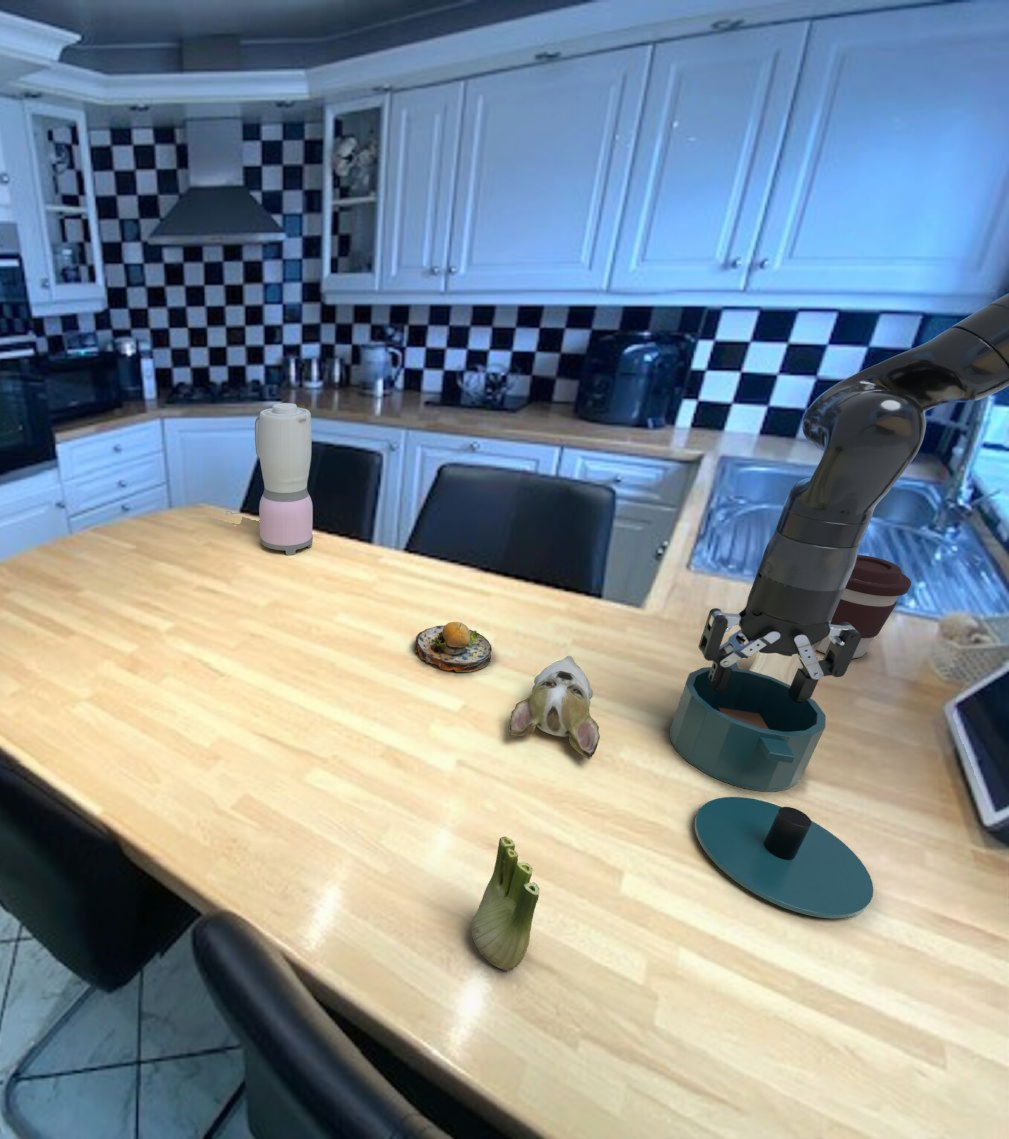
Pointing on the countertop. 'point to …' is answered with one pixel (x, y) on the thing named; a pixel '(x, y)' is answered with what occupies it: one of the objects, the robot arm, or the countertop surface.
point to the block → (745, 717)
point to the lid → (784, 857)
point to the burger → (453, 647)
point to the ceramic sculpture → (559, 707)
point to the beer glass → (779, 665)
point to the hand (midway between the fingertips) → (755, 693)
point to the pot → (746, 730)
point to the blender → (285, 477)
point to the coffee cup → (869, 599)
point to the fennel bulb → (506, 910)
